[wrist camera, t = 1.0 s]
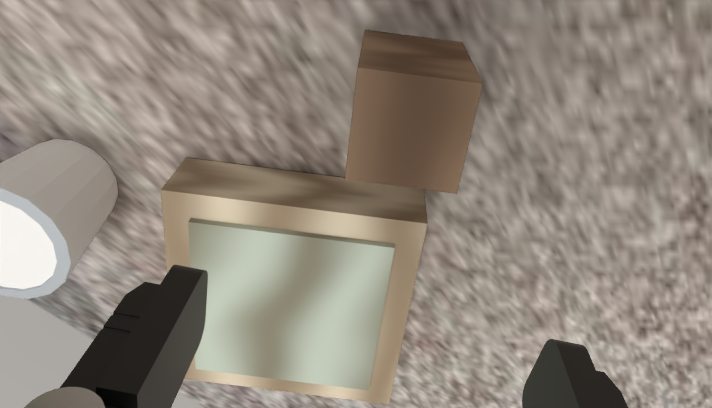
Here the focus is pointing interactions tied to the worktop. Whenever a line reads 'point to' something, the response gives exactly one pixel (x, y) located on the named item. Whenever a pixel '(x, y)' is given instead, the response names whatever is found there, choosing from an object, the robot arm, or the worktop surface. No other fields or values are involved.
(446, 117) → the walnut block
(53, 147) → the white cup
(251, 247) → the plinth
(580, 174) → the worktop surface
